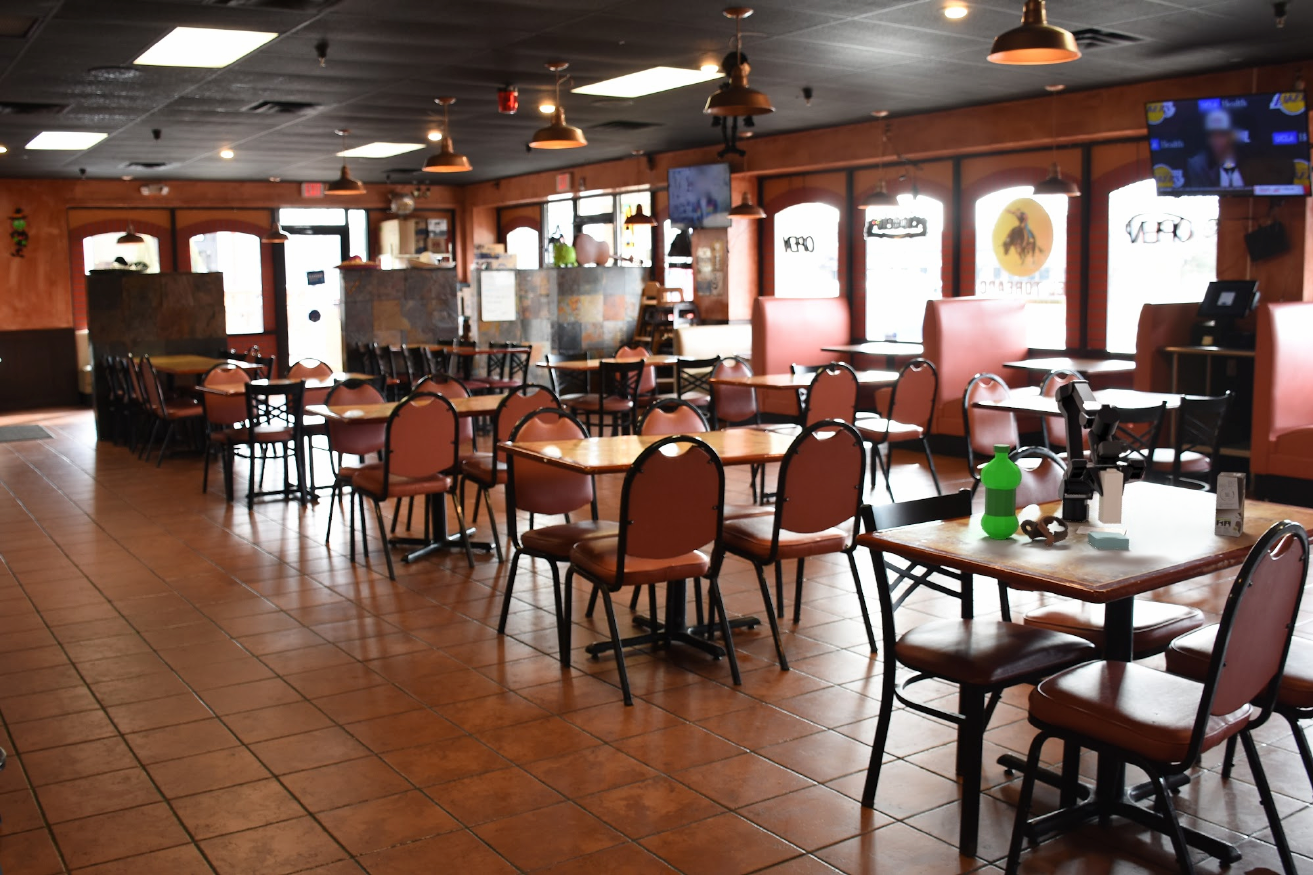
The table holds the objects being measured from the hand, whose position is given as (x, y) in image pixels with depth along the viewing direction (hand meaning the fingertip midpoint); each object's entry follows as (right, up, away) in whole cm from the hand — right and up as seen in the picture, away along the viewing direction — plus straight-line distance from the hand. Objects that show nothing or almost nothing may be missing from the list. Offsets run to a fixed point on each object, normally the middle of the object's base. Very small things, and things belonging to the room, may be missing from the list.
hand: (1112, 495), depth 305 cm
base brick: (0, -13, +3) cm, 14 cm away
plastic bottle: (-25, -12, +15) cm, 31 cm away
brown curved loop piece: (-15, -13, +8) cm, 21 cm away
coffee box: (+38, -11, +17) cm, 43 cm away
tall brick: (0, -7, +2) cm, 7 cm away
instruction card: (+5, -11, +19) cm, 23 cm away
